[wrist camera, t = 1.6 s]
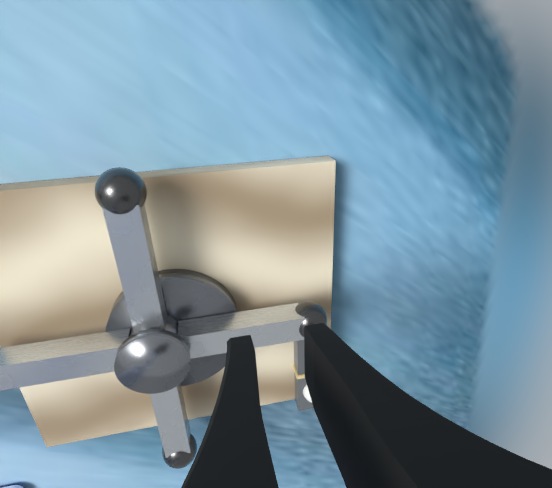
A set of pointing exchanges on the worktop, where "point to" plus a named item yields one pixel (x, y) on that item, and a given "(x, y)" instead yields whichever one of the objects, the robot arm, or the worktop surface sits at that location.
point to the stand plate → (169, 255)
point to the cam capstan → (155, 324)
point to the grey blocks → (300, 378)
